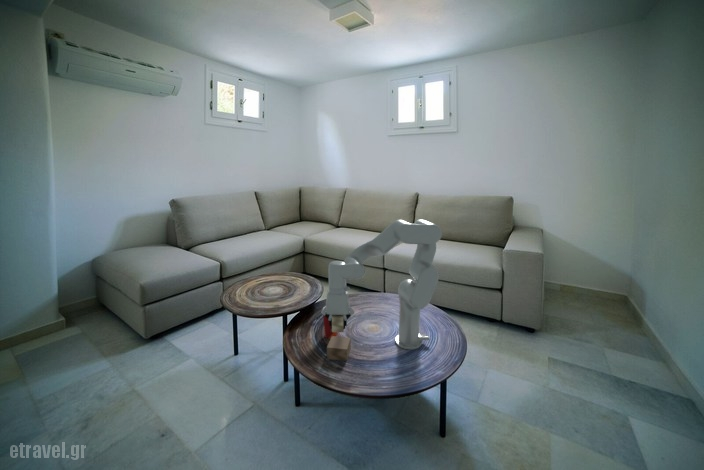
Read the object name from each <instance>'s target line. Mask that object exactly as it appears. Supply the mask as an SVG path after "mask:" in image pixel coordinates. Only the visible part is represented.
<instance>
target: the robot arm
mask: <svg viewBox="0 0 704 470" xmlns="http://www.w3.org/2000/svg"><path fill="white" fill-rule="evenodd" d="M442 236H443V231H442V229H441V227H440V226H439V225H438V224H435V223H433V222H432V221H428V220H425V219H417V220H415V221H414V223H410V222H407V221H406V220H403V219H396V220H394V221H392V223H391V224H389V225H388V226H386V228H385V229H383V230H382V231H381V232H380V233H379V234H378V235H377V236H375V237H374V238H373V239H371V240H369V241H367V242H366V243H363V244H361V245H359V246H357V248H355V249H354V250H352V251H351V252H350V253H349V254H348V255H347V256H346V257H345V259H344V260H343V261H342V260H333V261H330V262H329V263H328V267H327V268H328V269H327V270H328V291H327V292H326V299H325V300H326V301H325V306H324V307H325V308H324V307H323V308H324V309H323V308H322V310H321V312H320V313H321V314H322V316H323V315H324V316H325V317H326V318H328V320H329V326H331V329H332V315H343V317H344V321H343V325H344V330H346V327H347V326H348V319H350V318H351V317H352V316H353V315H354V314H355V310H354V309H353V308H352V307H351V306H350V296H349V295H350V294H349V292H348V291H350V289H351V288H350V286H347V280H351V281H352V280H360V279H362V278H364V277H365V275H366V268H365V266H364V263H365V262H366V261H367V260H368V259H370V258H372V257H377V256H379V257H380V256H385V255H387V254H388V253H389V252H390V251H391V250H393V249H394V248H395V247H396V246H397V245H399V244H400V242H401V243H402V244H407V245H416V250H415V253H414V255H413V257H412V260H411V263H410V265H409V268H408V272H409V274H410V276H411V277H412V278H413V279H411V278H406V279H403V280H402V281H401V282H400V284H399V285H398V290H397V291H398V302H399V313H398V314H399V315H398V316H399V317H398V335H396V337H395V338H394V340H395V341H394V342H395V344H396V346H398V347H399V348H401V349H403V350H410V351H411V350H417V349H419V348H420V347H421V346H422V345H423V341H430V337H429V336H426V334H425V333H420V320H421V319H420V317H421V310H424V309H425V308H426V307H427V306H428V305H429V304H430V302H431V300H432V297H433V295H434V292H435V290H436V288H437V285H438V283H439V279H440V275H439V273H440V272H439V270H438V269H437V268H436V267H435V266H434V265H433V262H434V258H435V256H436V253H437V243H438V242H439V241H440V240H441V239H442ZM325 311H326V312H325Z"/></svg>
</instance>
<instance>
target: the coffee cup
mask: <svg viewBox="0 0 704 470" xmlns="http://www.w3.org/2000/svg"><path fill="white" fill-rule="evenodd" d="M324 308H325V306H323V307H322V310H323V309H324ZM325 312H326V311H325ZM322 317H323V318H322V319H323V328H324V335H325V338H327V339H331V336H336V337H338V332H332V329H331V326H329V320H328V318H326V317H325V316H324V315H323V314H322Z"/></svg>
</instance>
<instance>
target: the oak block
mask: <svg viewBox="0 0 704 470" xmlns="http://www.w3.org/2000/svg"><path fill="white" fill-rule="evenodd" d="M343 321H344V317H343V315H332V332H337V333H344V330H345V329H344V325H343Z"/></svg>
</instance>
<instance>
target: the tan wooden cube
mask: <svg viewBox="0 0 704 470" xmlns="http://www.w3.org/2000/svg"><path fill="white" fill-rule="evenodd" d="M351 340H352V339H351V337H347V336H331V339H330V340H329V341H328V344H327V346H326V358H327V360H334V361H341V362H342V361H344V362H347V361H348V360H349V355H350V353H351V348H352V347H351Z"/></svg>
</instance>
